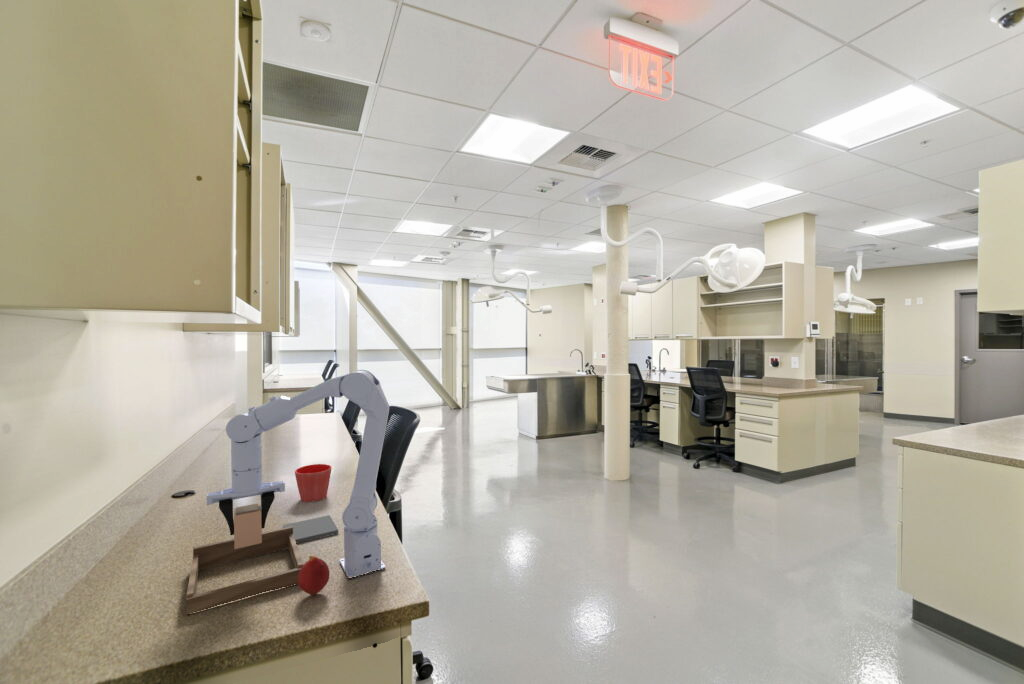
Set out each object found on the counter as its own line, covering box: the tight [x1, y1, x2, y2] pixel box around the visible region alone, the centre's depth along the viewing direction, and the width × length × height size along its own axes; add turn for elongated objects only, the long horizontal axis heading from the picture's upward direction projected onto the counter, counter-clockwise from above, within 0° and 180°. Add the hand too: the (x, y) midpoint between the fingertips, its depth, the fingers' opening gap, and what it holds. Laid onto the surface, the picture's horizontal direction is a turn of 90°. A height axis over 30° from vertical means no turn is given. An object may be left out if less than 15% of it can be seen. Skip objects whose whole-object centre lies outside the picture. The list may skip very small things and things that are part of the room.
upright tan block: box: [233, 503, 263, 549], centre depth 95 cm, size 5×5×7 cm
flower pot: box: [294, 463, 332, 503], centre depth 143 cm, size 11×11×10 cm
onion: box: [297, 554, 330, 596], centre depth 88 cm, size 6×6×8 cm
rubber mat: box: [282, 514, 339, 544], centre depth 117 cm, size 12×12×1 cm
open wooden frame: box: [185, 526, 304, 616], centre depth 95 cm, size 20×20×5 cm
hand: (247, 530), depth 95 cm, fingers closed on upright tan block, 5 cm apart
